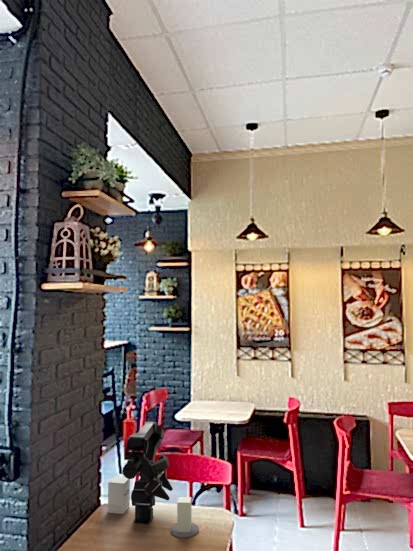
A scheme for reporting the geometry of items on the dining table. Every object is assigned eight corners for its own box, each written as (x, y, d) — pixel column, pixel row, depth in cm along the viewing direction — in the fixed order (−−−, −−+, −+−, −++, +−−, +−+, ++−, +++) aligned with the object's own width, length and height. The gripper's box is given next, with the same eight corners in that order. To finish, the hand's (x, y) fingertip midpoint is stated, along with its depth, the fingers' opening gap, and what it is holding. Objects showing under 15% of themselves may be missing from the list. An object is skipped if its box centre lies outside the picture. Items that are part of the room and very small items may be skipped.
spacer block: (177, 531, 172) (177, 502, 173) (178, 525, 177) (178, 496, 178) (190, 532, 172) (190, 502, 173) (191, 525, 177) (191, 497, 178)
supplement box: (123, 514, 189) (123, 483, 190) (107, 512, 190) (107, 482, 191) (130, 506, 196) (130, 477, 197) (114, 505, 197) (114, 475, 198)
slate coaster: (166, 535, 171) (166, 533, 171) (175, 522, 181) (175, 520, 181) (193, 539, 168) (193, 537, 168) (201, 525, 179) (201, 524, 179)
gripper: (153, 458, 168) (182, 489, 167) (160, 443, 187) (187, 471, 185) (132, 479, 168) (161, 510, 166) (142, 463, 186) (168, 491, 185)
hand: (170, 494), depth 176 cm, fingers open, 9 cm apart
